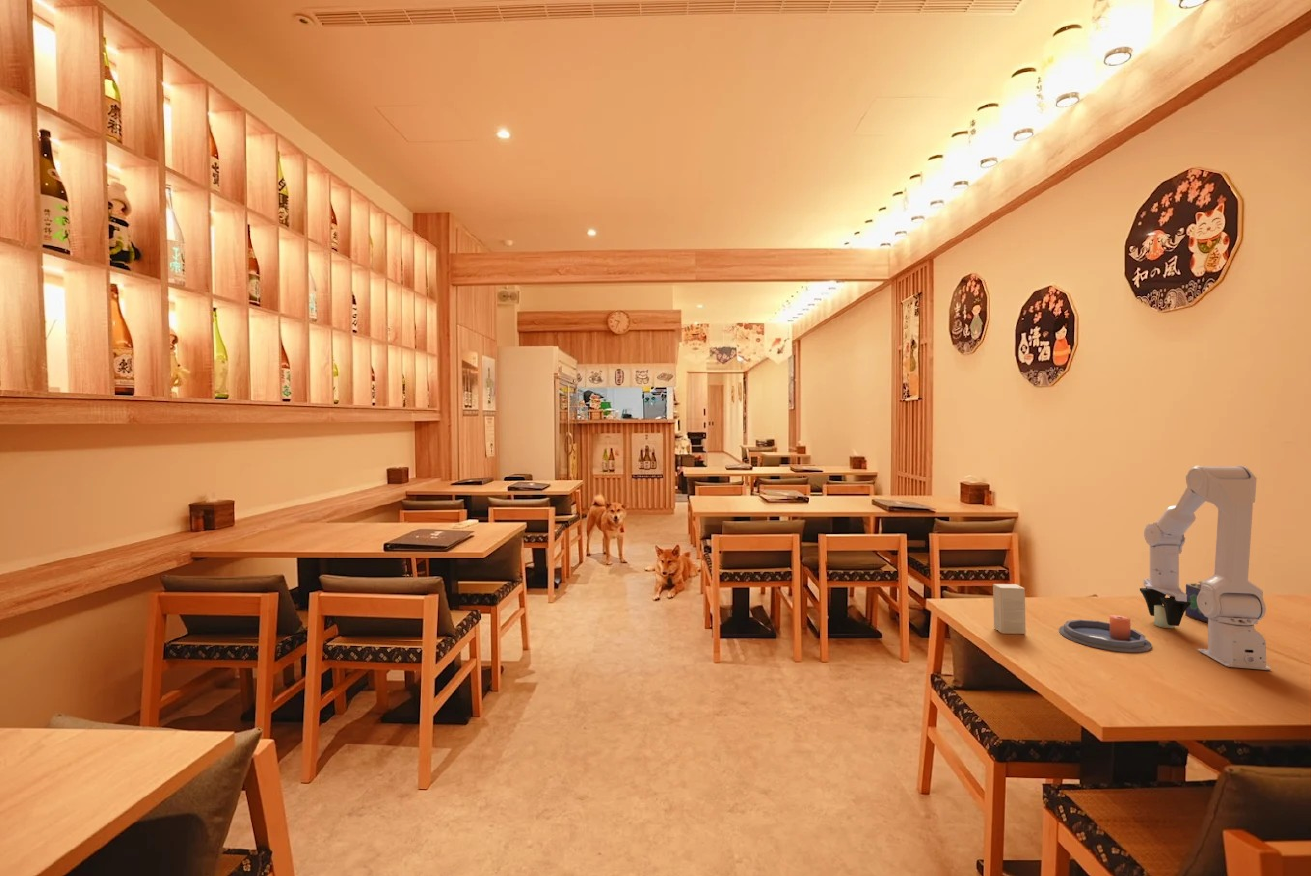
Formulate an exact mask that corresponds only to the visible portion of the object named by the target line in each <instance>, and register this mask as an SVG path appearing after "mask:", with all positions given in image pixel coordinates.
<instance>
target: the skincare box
mask: <svg viewBox="0 0 1311 876" xmlns="http://www.w3.org/2000/svg"><path fill="white" fill-rule="evenodd" d="M992 592H993V593H992V596H993V598H992V599H993V600H992V601H993V629H994V628H995V629H994V630H996V631H997V630H998V631H997V632H999V633H1000V634H1001V635H1002V634H1003V635H1004V634H1005V635H1006V634H1007V635H1008V634H1010V635H1011V634H1012V635H1025V634H1026V632H1027V630H1026V589H1025V587H1023V586H1020V585H1019V584H1017V583H993V584H992Z"/></svg>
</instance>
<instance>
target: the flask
mask: <svg viewBox="0 0 1311 876" xmlns="http://www.w3.org/2000/svg"><path fill="white" fill-rule="evenodd" d="M1203 581H1204V580H1203ZM1203 581H1202V580H1198V581H1197V582H1198V583H1199V584H1198V583H1196V582H1195V583H1186V584H1185V594H1187V600H1188V601H1190V602H1191V605H1190V606H1189V607H1188V608H1187V609H1186V610H1185V612H1184V615H1185V617H1188V618H1191V619H1194V620H1197V621H1200V622H1203V623H1206V624H1208V617H1205V616H1204V614H1203V613H1202V612H1201V611H1200V609H1199V608H1198V605H1197V596H1198V594H1199V592H1200V590H1201V583H1202V582H1203Z"/></svg>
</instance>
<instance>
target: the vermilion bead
mask: <svg viewBox="0 0 1311 876" xmlns="http://www.w3.org/2000/svg"><path fill="white" fill-rule="evenodd" d="M1109 623H1110V637H1111V638H1114V639H1118V640H1124V641H1129V640H1130V629H1131V618H1129V617H1128V616H1123V615H1118V614H1110V615H1109Z"/></svg>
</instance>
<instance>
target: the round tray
mask: <svg viewBox="0 0 1311 876" xmlns="http://www.w3.org/2000/svg"><path fill="white" fill-rule="evenodd" d="M1058 632H1059V634H1061V636H1063V637H1064V638H1066V639H1068V640H1070V641H1072V642H1075V643H1076V644H1077V643H1078V644H1080V645H1084V646H1087V647H1091V648H1095V649H1098V650H1105V651H1111V652H1116V653H1117V652H1119V653H1130V654H1131V653H1137V654H1138V653H1139V654H1140V653H1144V652H1145V653H1146V652H1149V651H1150V650H1151V649H1152V648H1153V647H1152V643H1151V642H1150V641H1149V640H1148V639H1147V638H1146V635H1145V634H1143V633H1141V632H1139V631H1138V630H1136V629H1132V628H1130V640H1129V641H1124V640H1118V639H1114V638H1111V637H1110V622H1107V621H1105V622H1104V621H1100V620H1089V619H1074V620H1066V622H1065V623H1064V624H1063V625H1062V626H1060V627H1059V629H1058Z"/></svg>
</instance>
